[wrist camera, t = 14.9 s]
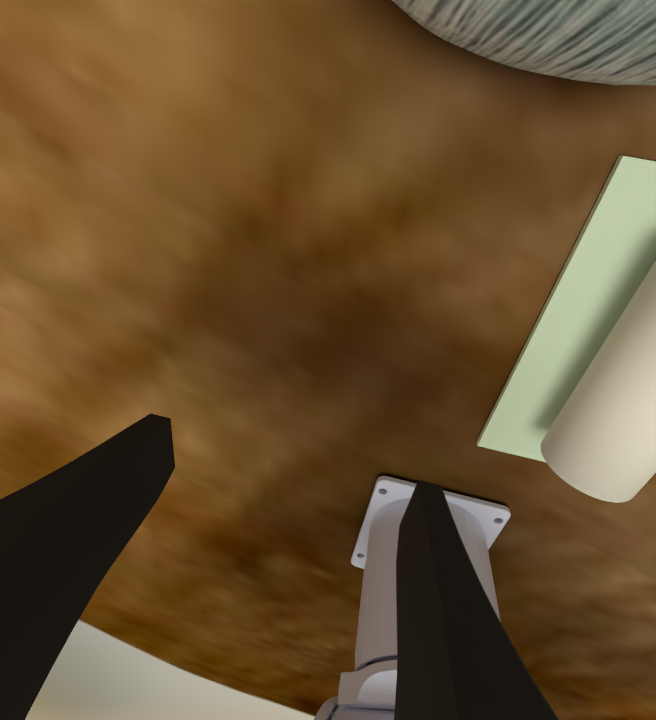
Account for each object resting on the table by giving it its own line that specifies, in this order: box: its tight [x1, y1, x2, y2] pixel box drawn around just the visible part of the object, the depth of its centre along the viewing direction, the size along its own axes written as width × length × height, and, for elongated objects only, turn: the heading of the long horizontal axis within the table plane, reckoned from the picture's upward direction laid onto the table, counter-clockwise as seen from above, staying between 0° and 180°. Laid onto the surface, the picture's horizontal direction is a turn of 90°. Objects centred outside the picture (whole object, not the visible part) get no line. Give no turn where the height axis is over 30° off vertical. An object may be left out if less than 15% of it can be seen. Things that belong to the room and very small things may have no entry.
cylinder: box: [540, 261, 656, 503], centre depth 15 cm, size 10×4×4 cm, turn 171°
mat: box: [477, 155, 656, 462], centre depth 17 cm, size 14×8×1 cm, turn 171°
